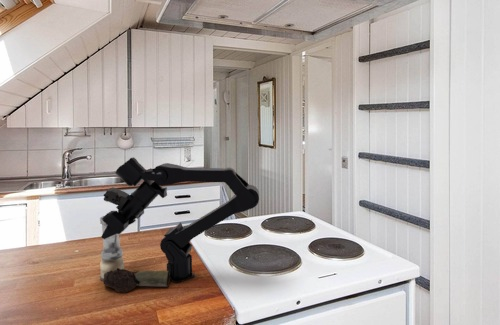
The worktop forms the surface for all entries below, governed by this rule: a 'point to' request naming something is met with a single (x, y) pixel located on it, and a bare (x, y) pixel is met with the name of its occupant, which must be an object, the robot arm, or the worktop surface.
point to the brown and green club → (135, 279)
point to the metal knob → (110, 245)
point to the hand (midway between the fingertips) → (106, 235)
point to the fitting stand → (110, 266)
